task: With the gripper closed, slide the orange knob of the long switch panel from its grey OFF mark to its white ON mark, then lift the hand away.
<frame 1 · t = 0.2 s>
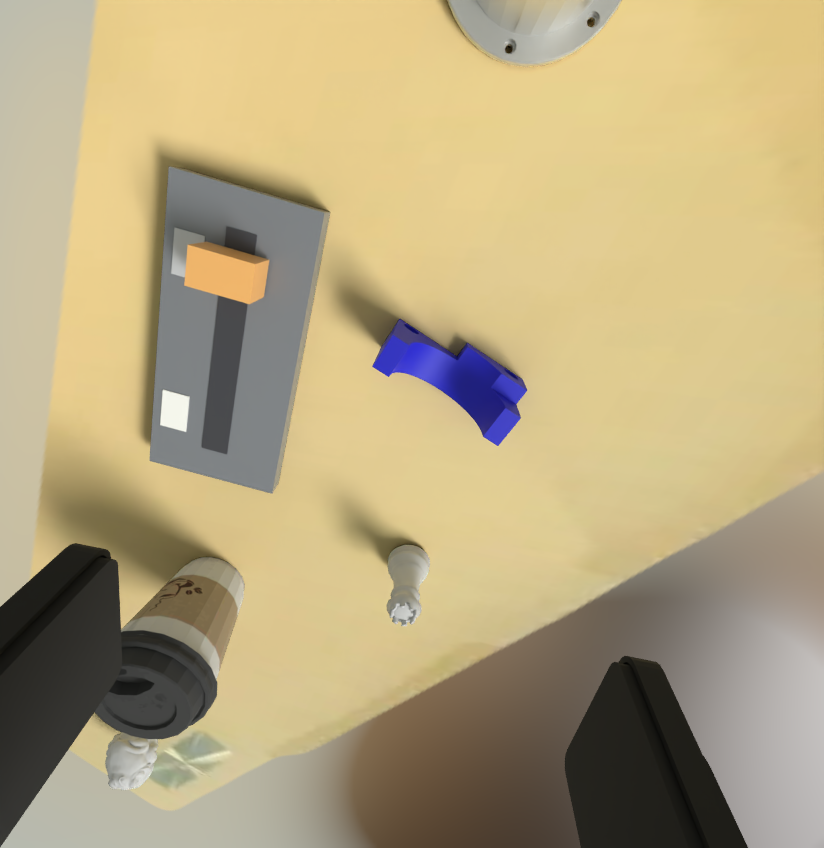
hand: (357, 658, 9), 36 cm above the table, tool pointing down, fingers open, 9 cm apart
coffee cup: (214, 581, 57), on the table
rook chess piece: (409, 558, 54), on the table
switch knob: (227, 272, 39), point 4 cm above the table, slide at -7.0 cm
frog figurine: (148, 726, 68), on the table
switch panel: (236, 344, 45), on the table
blue curved stepped piece: (452, 362, 45), on the table
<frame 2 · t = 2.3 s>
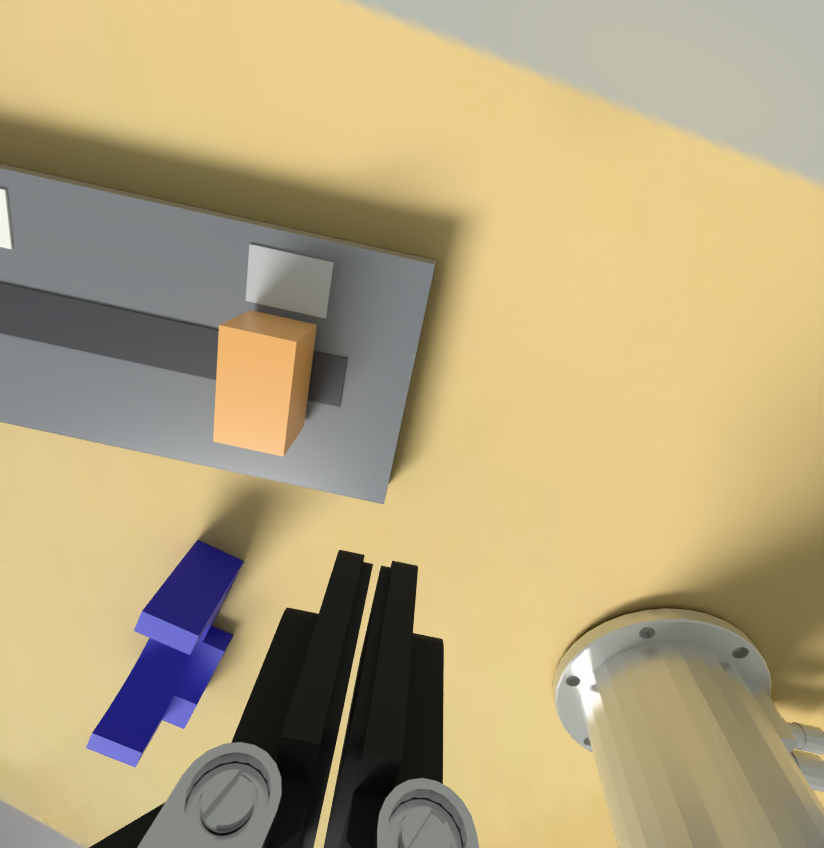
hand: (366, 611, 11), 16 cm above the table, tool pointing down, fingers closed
switch knob: (266, 381, 22), point 4 cm above the table, slide at -7.0 cm
switch panel: (154, 327, 25), on the table
blue curved stepped piece: (203, 616, 33), on the table
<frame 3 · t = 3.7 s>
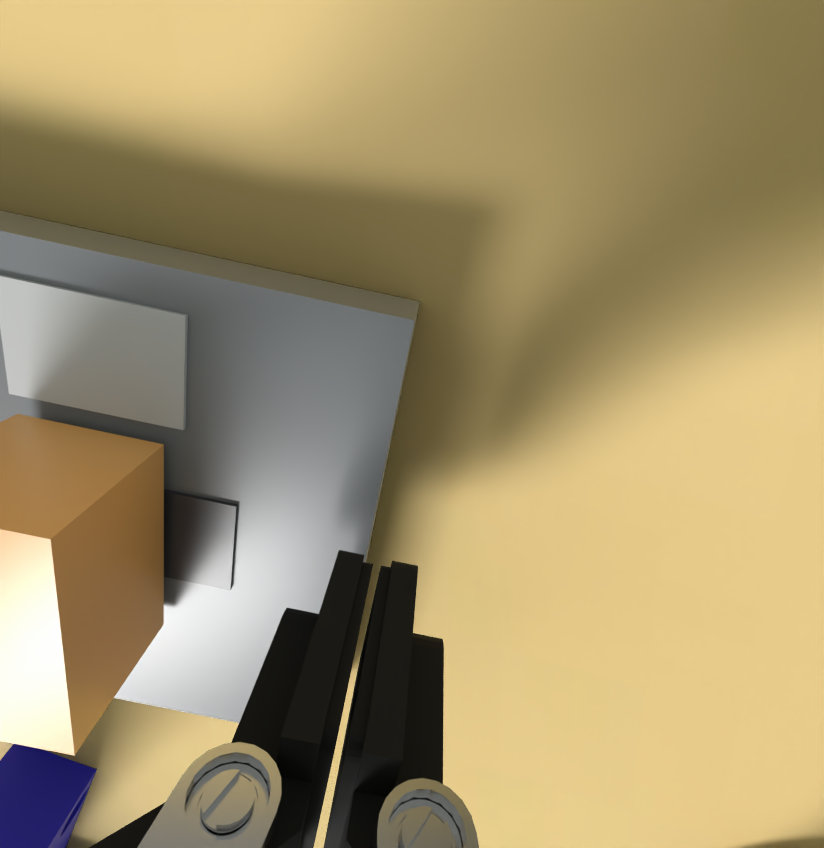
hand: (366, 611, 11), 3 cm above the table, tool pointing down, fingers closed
switch knob: (44, 577, 10), point 4 cm above the table, slide at -7.0 cm
blue curved stepped piece: (54, 831, 21), on the table
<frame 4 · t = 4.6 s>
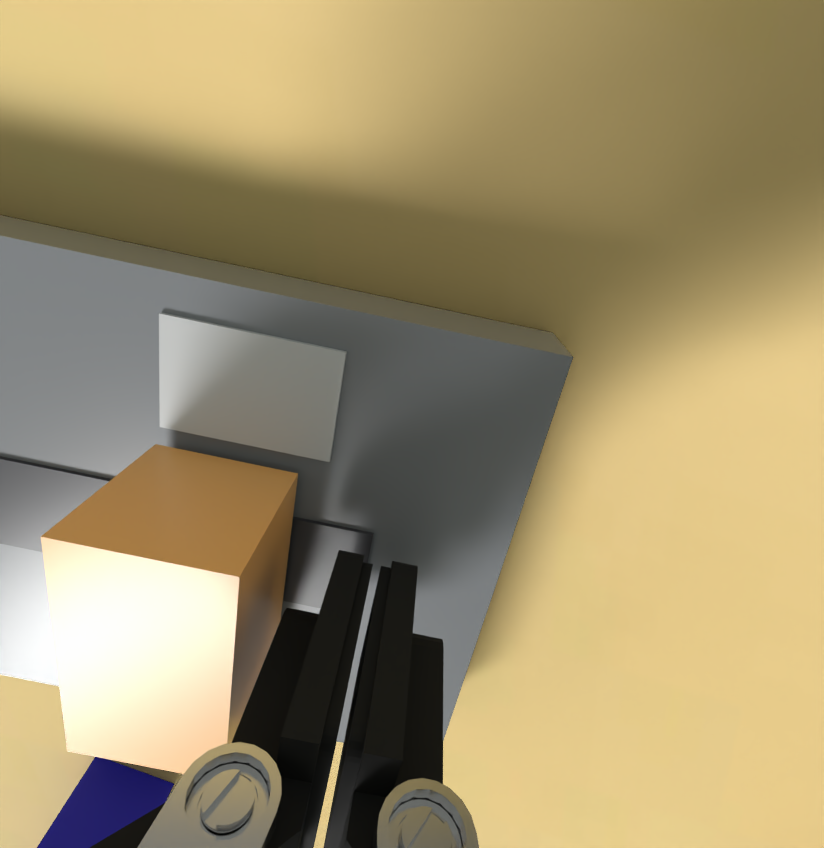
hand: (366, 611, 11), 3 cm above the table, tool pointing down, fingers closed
switch knob: (188, 605, 10), point 4 cm above the table, slide at -6.7 cm, touching gripper
switch panel: (9, 449, 13), on the table
blue curved stepped piece: (124, 843, 21), on the table
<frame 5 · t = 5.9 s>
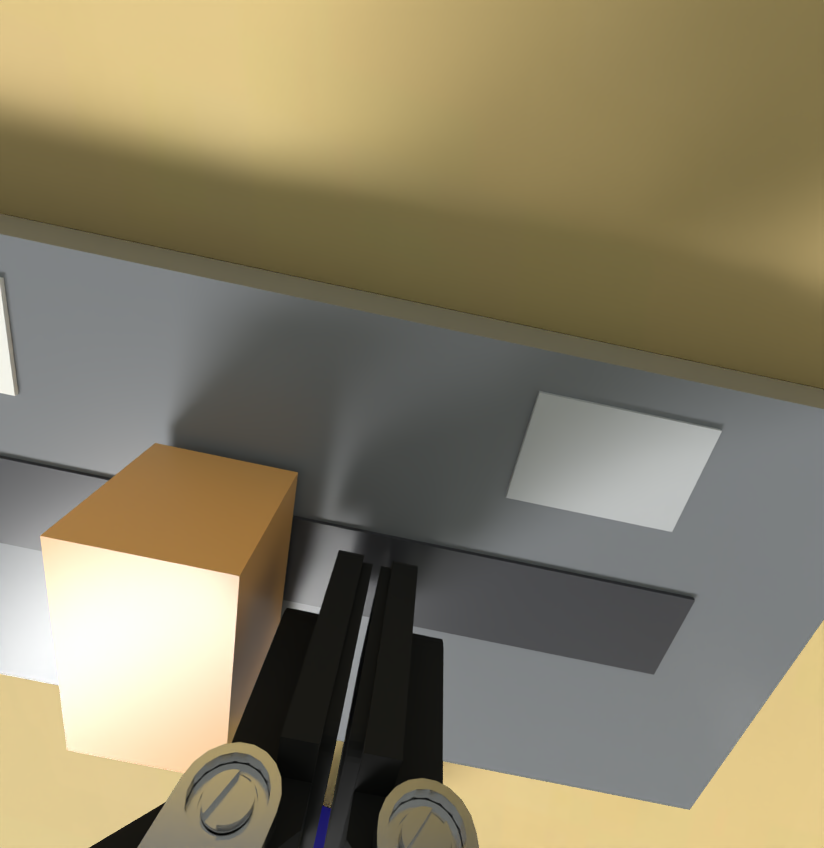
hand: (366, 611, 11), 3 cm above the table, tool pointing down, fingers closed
switch knob: (188, 604, 10), point 4 cm above the table, slide at 0.7 cm, touching gripper
switch panel: (281, 504, 14), on the table
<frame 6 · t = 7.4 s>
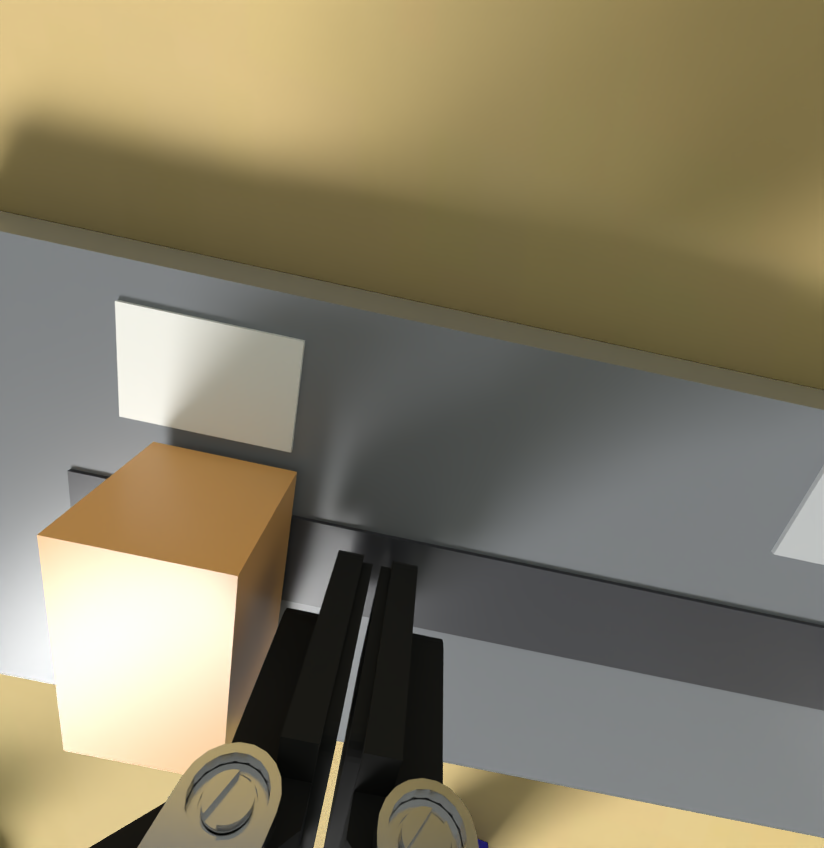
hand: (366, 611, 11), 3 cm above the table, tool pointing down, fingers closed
switch knob: (186, 604, 10), point 4 cm above the table, slide at 6.5 cm, touching gripper
switch panel: (491, 547, 14), on the table
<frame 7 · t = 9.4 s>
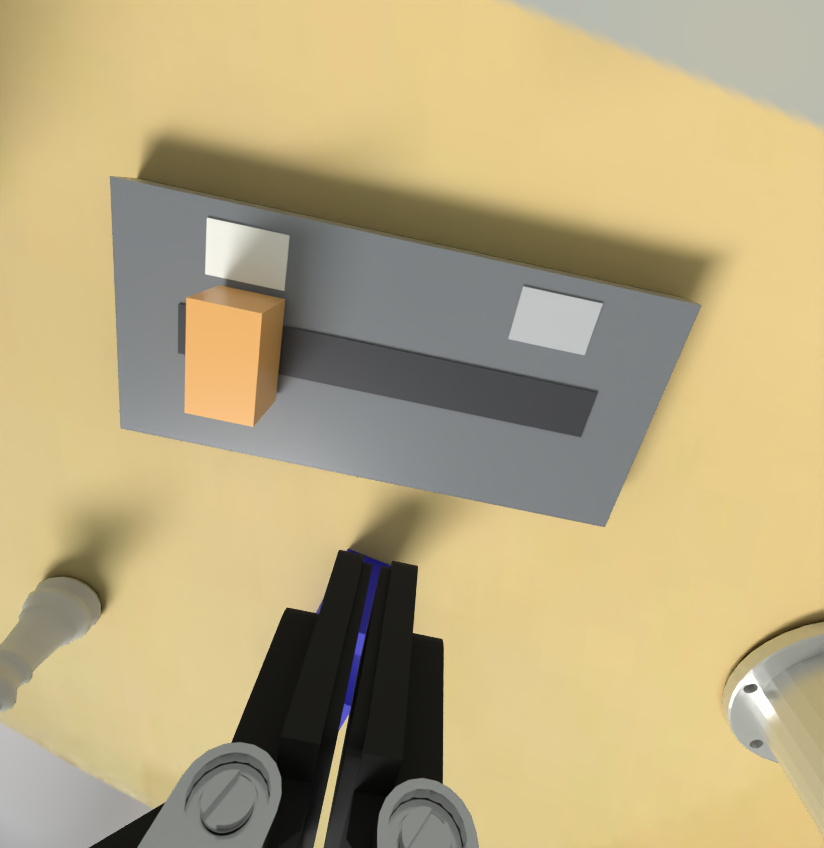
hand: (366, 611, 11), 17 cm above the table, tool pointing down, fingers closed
rook chess piece: (74, 596, 34), on the table
switch knob: (236, 354, 22), point 4 cm above the table, slide at 6.6 cm
switch panel: (390, 360, 26), on the table
blue curved stepped piece: (347, 622, 34), on the table
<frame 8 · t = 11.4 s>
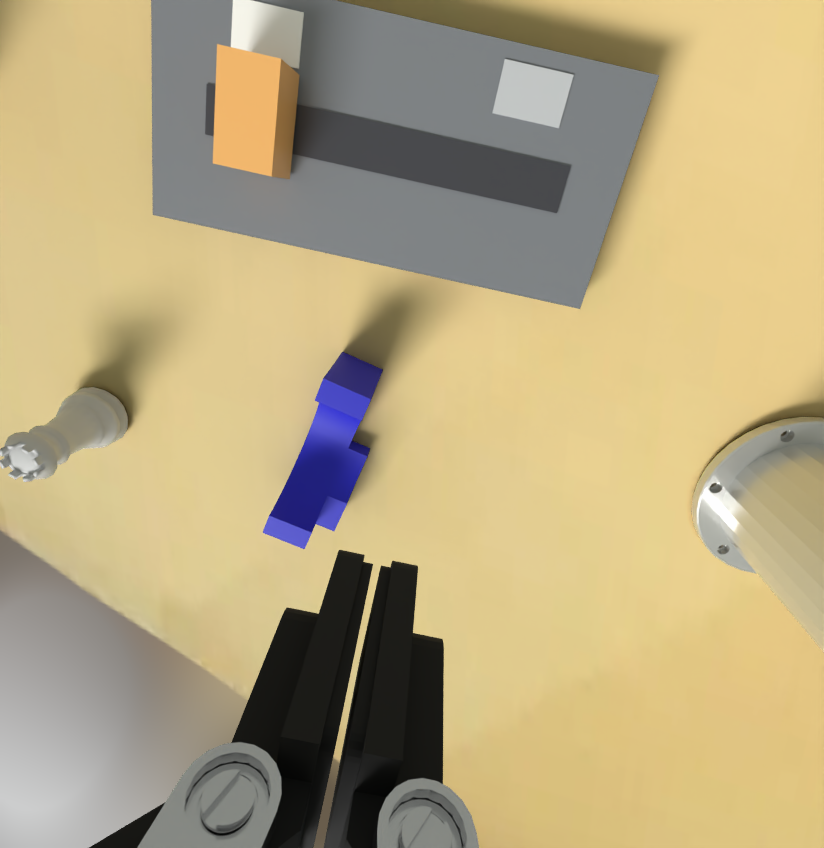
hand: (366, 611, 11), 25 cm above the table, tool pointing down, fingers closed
rook chess piece: (104, 412, 38), on the table
switch knob: (256, 118, 26), point 4 cm above the table, slide at 6.6 cm
switch panel: (390, 153, 29), on the table
blue curved stepped piece: (343, 434, 37), on the table
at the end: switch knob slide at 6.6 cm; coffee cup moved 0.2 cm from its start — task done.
